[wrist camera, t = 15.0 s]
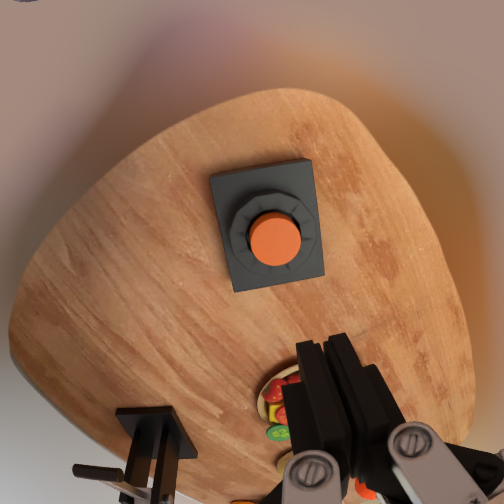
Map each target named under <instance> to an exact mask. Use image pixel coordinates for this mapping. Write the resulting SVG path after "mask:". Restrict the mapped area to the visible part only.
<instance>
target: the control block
mask: <svg viewBox="0 0 504 504" xmlns="http://www.w3.org/2000/svg"><path fill="white" fill-rule="evenodd" d="M209 180H210V185H211V190H212V195H213V199H214V204H215V209H216V213H217V218H218V223H219V227H220V232H221V236H222V241H223V246H224V250H225V255H226V259H227V263H228V268H229V272H230V277H231V281H232V285H233V290H234V293H235V292H241V291H246V290H252V289H257V288H263V287H268V286H273V285H279V284H284V283H289V282H294V281H299V280H305V279H310V278H315V277H320V276H324V275H325V272H324V262H323V251H322V241H321V232H320V223H319V215H318V206H317V198H316V190H315V183H314V176H313V168H312V162H311V160H309V159H307V158H301V159H294V160H288V161H281V162H275V163H269V164H263V165H258V166H252V167H247V168H241V169H236V170H231V171H225V172H220V173H215V174H211V176H210V178H209ZM269 212H278V213H282V214H284V215H286V216H288V217H289V218H290V219H291V220H292V221H293V223H294V224H295V226H296V227H297V229H298V231H299V233H300V236H301V245H300V249H299V251H298V253H297V254H296V256H295V257H294V258H293V259H292V260H291V261H289V262H287V263H285V264H283V265H278V266H271V265H267V264H264V263H262V262H261V261H259V260H258V259H257V258H256V257H255V255H254V254H253V252H252V249H251V244H250V229H251V226H252V224H253V223H254V221H255V220H256V219H257V218H258V217H260V216H261V215H263V214H266V213H269Z"/></svg>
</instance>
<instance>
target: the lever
mask: <svg viewBox="0 0 504 504" xmlns="http://www.w3.org/2000/svg"><path fill="white" fill-rule="evenodd" d="M72 471H73V474H74V476H76V477H78V478H84V479H91V480H99V481H100V482H102V483H104V484H106V485H108V486H110V487H112V488H114V489H117V490H119V491H120V492H123V493H125V494H127V495H129V496H131V497H134V504H150V501H151V494H152V488H143V487H134V486H132V485H130V484H128V483H126V482H124V473H123V471H122V469H120V468H109V467H99V466H89V465H82V464H74V465H73V468H72Z"/></svg>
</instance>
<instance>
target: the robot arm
mask: <svg viewBox="0 0 504 504" xmlns="http://www.w3.org/2000/svg"><path fill="white" fill-rule="evenodd" d="M323 347H324V354H323V351H322V349H321V346H320V344H319V343H316V344H314V343H313V341H312V340H309V341H304V342H300V343H296V351H297V359H298V367H299V375H300V382H296V383H291V384H286V385H281V390H282V396H283V402H284V407H285V412H286V418H287V423H288V429H289V434H290V439H291V445H292V450H293V457H292V458H291V459H290V460H289V461H288V462H287V464H286V465H285V467H284V471H283V480H282V481H281V482H280V483H279V484H278V485H277V486H276V487H275V488H274V489H273V490H272V491H271V492H270V493H269V494H268V495H267V496H266V497H265V498H264V499H263V500H262V501H261V502H260V503H259V504H342V500H343V498H344V497H345V496H346V494H347V488H348V482H349V475H351V477H352V478H356V477H357V478H358V481H359V484H362V483H365V485H366V488H367V489H369V490H372V491H374V492H375V494H376V497H377V498H378V500H379V502H380V504H504V449H502V450H500V451H499V453H497V454H491V453H488V452H483V451H479V450H474V449H470V448H466V447H462V446H458V445H454V444H450V443H446V442H443V441H442V440H441V438H440V437H439V436H438V435H437V433H436V432H435V431H434V430H433V429H432V428H431V427H430V426H429V425H427V424H425V423H422V422H416V421H414V422H406V421H405V419H404V417H403V415H402V413H401V411H400V409H399V407H398V405H397V403H396V401H395V400H394V398H393V396H392V394H391V392H390V390H389V388H388V386H387V385H386V383H385V381H384V379H383V377H382V375H381V373H380V372H379V370H378V368H377V367H376V365H375V364H371V365H367V366H364V367H363V366H362V364H361V362H360V360H359V358H358V356H357V354H356V352H355V350H354V348H353V346H352V344H351V342H350V340H349V338H348V337H347V335H346V333H340V334H336V335H332V336H329V338H328V341H325V342H323Z"/></svg>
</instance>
